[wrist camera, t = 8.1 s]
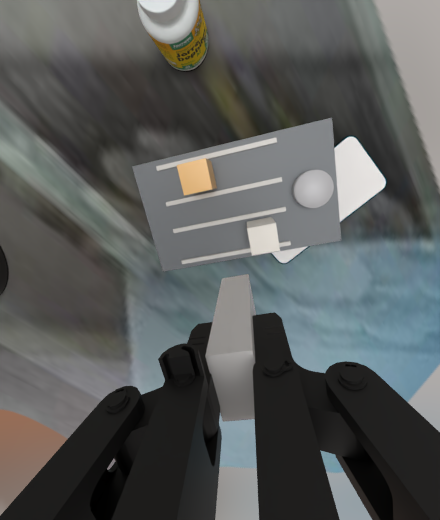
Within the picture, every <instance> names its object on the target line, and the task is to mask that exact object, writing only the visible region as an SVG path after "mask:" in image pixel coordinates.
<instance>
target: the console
mask: <svg viewBox="0 0 440 520" xmlns="http://www.w3.org/2000/svg"><path fill="white" fill-rule="evenodd" d="M204 158H206V159H208V160H210V161H211V162H212V167H213V171H214V176H215V181H216V186H217V188H215V189H212V190H207V191H203V192H198V193H193V194H189V195H184V193H183V189H182V185H181V181H180V177H179V173H178V169H177V165H179V164H183V163H187V162H192V161H196V160H200V159H204ZM132 168H133V171H134V175H135V178H136V182H137V185H138V188H139V192H140V195H141V199H142V202H143V205H144V209H145V212H146V216H147V219H148V223H149V226H150V229H151V233H152V236H153V240H154V243H155V246H156V250H157V253H158V257H159V260H160V263H161V267H162V270H163V272H164V271H170V270H175V269H181V268H187V267H192V266H198V265H204V264H210V263H215V262H221V261H227V260H233V259H238V258H244V257H250V256H252V253H251V248H250V242H249V237H248V231H247V222H248V221H253V220H258V219H263V218H268V217H272V218H273V220H274V221H275V222H276V227H277V234H278V240H279V247H280V251H284V250H290V249H295V248H301V247H307V246H313V245H318V244H324V243H330V242H336V241H341V231H340V218H339V205H338V191H337V178H336V165H335V151H334V138H333V125H332V118H328V119H324V120H320V121H316V122H312V123H308V124H304V125H300V126H296V127H292V128H287V129H283V130H279V131H275V132H271V133H267V134H263V135H259V136H255V137H251V138H247V139H243V140H239V141H235V142H230V143H226V144H222V145H218V146H214V147H210V148H206V149H202V150H198V151H194V152H190V153H186V154H182V155H178V156H173V157H169V158H165V159H161V160H157V161H153V162H149V163H145V164H141V165H137V166H133V167H132ZM276 252H278V251H276ZM270 253H273V252H270ZM264 254H267V253H264ZM258 255H261V254H258ZM253 256H255V255H253Z"/></svg>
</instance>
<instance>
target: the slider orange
mask: <svg viewBox="0 0 440 520" xmlns="http://www.w3.org/2000/svg"><path fill="white" fill-rule="evenodd" d="M177 169H178V173H179V177H180V181H181V185H182V189H183V193H184V195H189V194H193V193H198V192H203V191H207V190H212V189H215V188H217V186H216V181H215V176H214V171H213V167H212V162H211V161H210V160H208V159H206V158H204V159H200V160H196V161H192V162H187V163H183V164H179V165H177Z"/></svg>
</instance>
